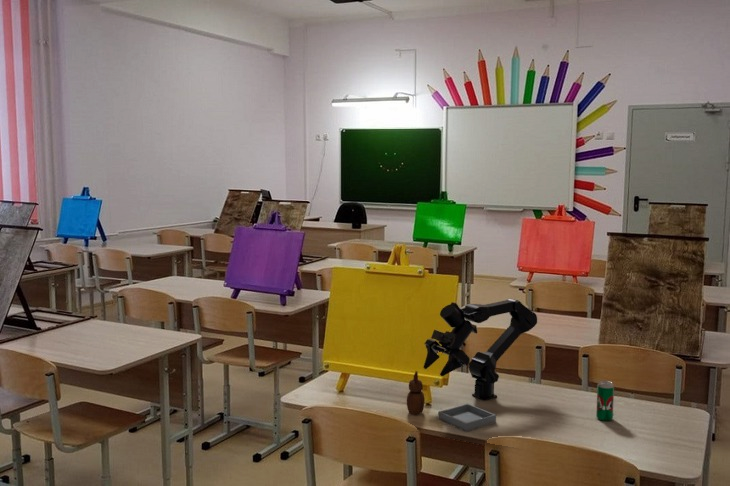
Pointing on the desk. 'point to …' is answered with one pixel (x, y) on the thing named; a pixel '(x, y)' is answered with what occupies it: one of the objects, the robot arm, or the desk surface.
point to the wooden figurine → (415, 396)
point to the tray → (467, 417)
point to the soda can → (605, 400)
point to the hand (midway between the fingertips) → (432, 371)
